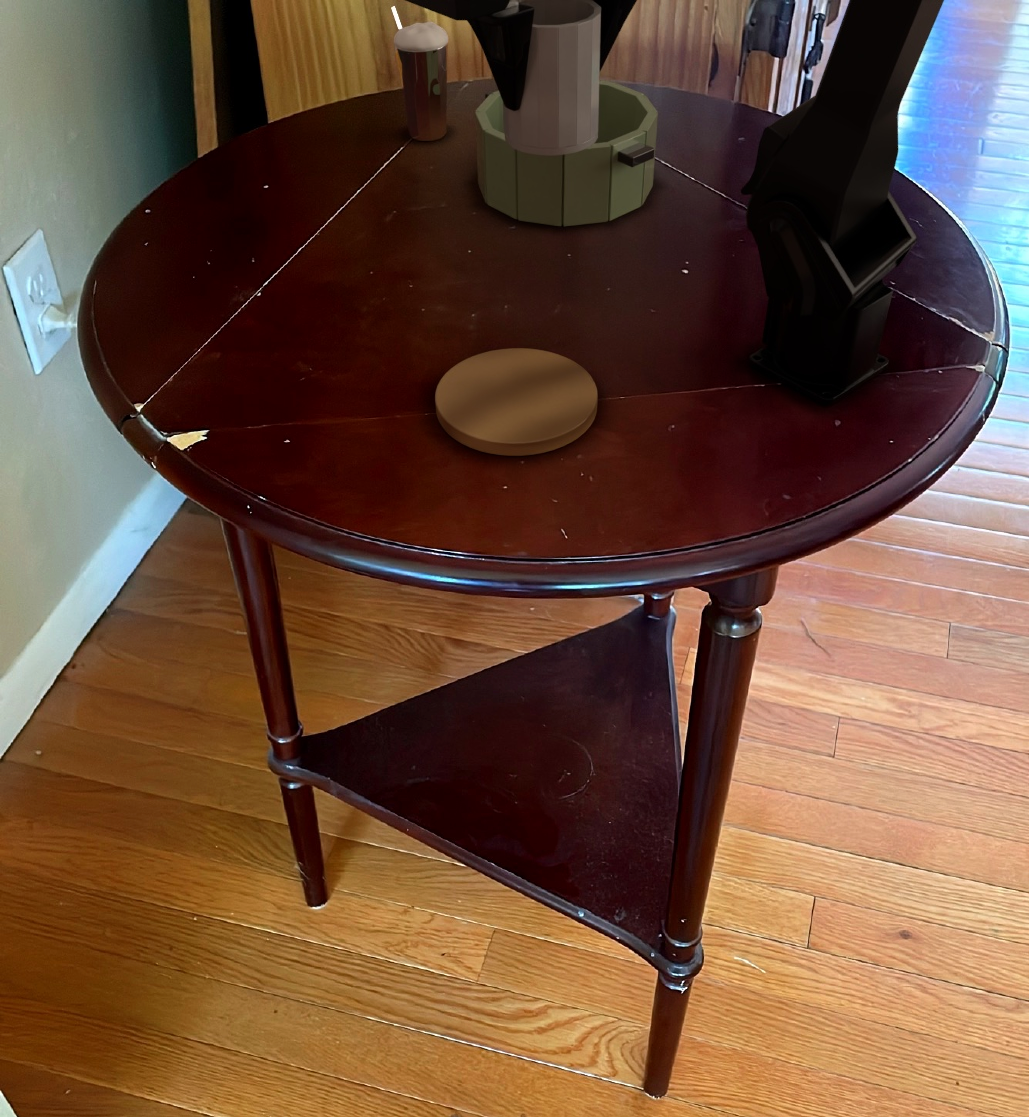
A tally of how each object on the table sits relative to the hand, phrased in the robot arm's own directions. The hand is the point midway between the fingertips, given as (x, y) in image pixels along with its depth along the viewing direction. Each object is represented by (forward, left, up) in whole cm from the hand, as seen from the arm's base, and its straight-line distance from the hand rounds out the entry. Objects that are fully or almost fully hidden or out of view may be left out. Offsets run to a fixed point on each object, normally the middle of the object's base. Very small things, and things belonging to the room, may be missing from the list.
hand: (551, 94), depth 74 cm
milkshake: (+24, -7, -12) cm, 28 cm away
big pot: (+8, -9, -12) cm, 18 cm away
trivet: (-12, +14, -12) cm, 22 cm away
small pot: (0, 0, -3) cm, 3 cm away
